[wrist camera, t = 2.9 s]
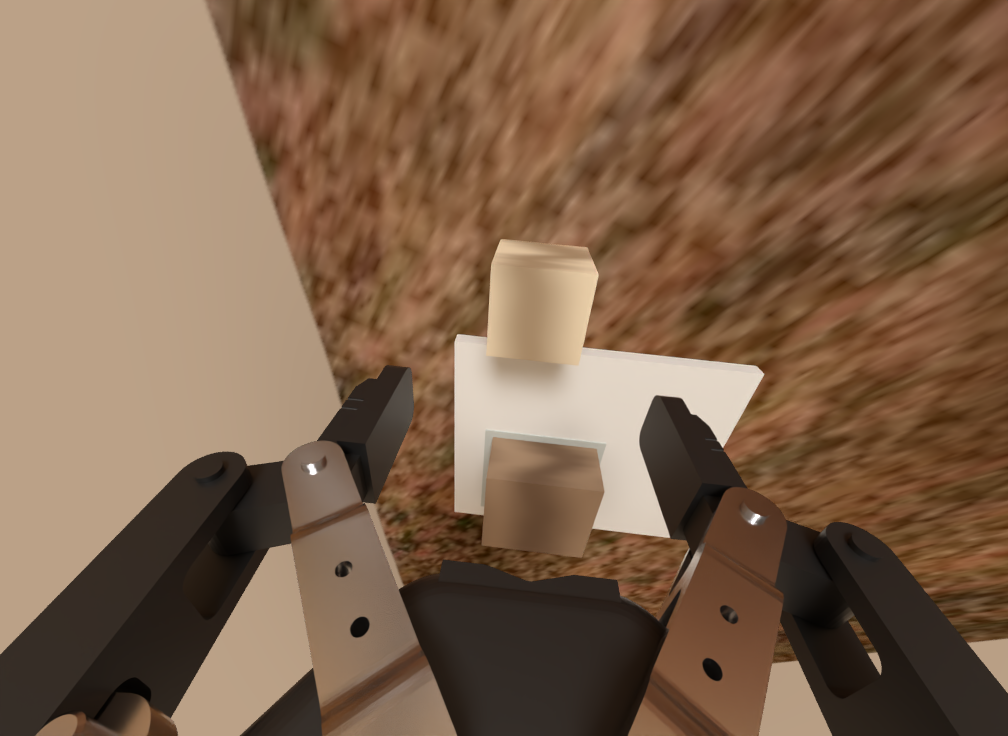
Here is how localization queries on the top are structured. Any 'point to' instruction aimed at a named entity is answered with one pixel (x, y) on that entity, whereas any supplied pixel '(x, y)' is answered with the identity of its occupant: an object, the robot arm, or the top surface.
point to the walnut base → (541, 496)
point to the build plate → (586, 417)
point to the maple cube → (540, 301)
